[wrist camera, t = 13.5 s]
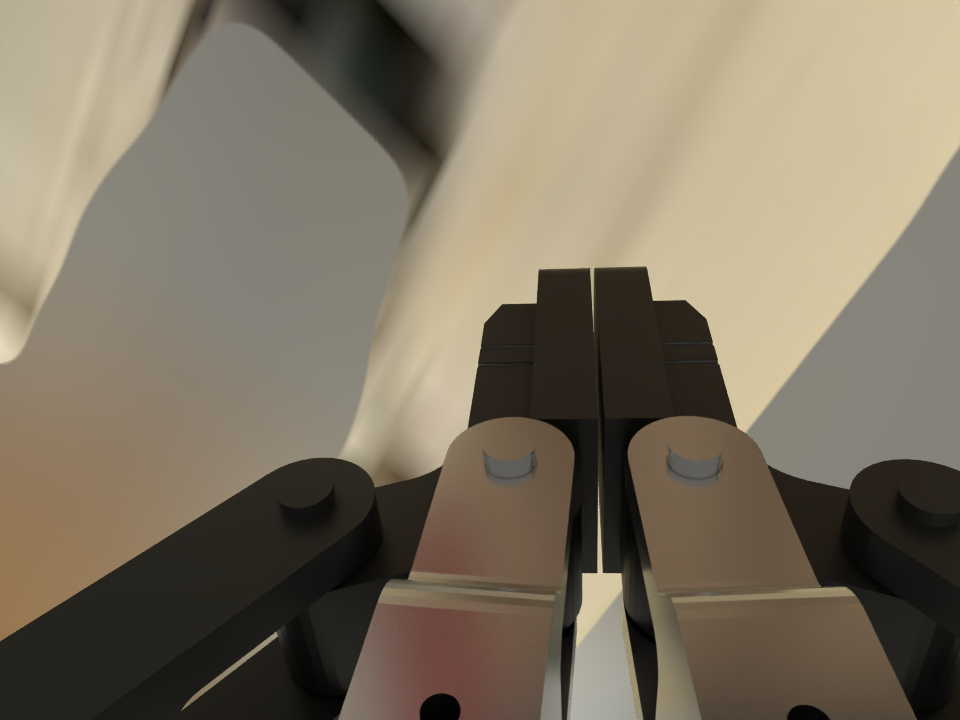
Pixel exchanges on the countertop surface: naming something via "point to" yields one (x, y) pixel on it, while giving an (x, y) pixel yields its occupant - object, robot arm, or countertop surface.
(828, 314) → the countertop surface
